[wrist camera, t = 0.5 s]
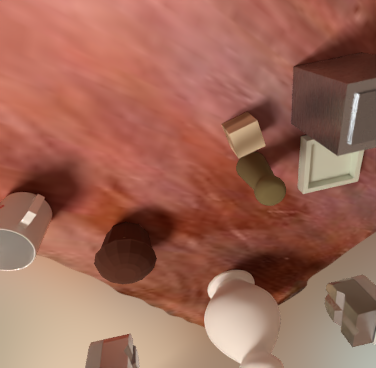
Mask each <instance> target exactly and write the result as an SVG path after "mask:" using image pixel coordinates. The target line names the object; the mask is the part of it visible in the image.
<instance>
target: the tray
mask: <svg viewBox="0 0 376 368" xmlns="http://www.w3.org/2000/svg"><path fill="white" fill-rule="evenodd" d="M363 153H364V150H362V151H357V152H353V153H349V154H344V155H340V156H337V155H335V154H334V153H332V152H331V151H330V150H328V149H327V148H325V147H324V146H322V145H321V144H320V143H318V142H317V141H315V140H314V139H312V138H311V137H309V136H308V135H305V136H301V141H300V158H299V174H298V189H299V190H300V191H301V192H302V193H303V194H305V193H309V192H314V191H318V190H322V189H327V188H331V187H335V186H340V185H344V184H348V183H353V182H357V181H358V179H359V173H360V168H361V163H362V158H363Z"/></svg>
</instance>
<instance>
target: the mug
mask: <svg viewBox="0 0 376 368" xmlns="http://www.w3.org/2000/svg"><path fill="white" fill-rule="evenodd" d="M44 199H45V197H44V196H42V195H40V194H37V195H36V194H33V193H28V192H16V193H12V194H10V195H8V196H6V197H5V198H4V199H3V200H2V201H1V202H0V270H2V271H15V270H20V269H23V268H25V267H27V266H29V265H30V264H31V263H32V262H33V261H34V259H35V257H36V255H37V252H38V250H39V248H40V245H41V243H42V241H43V238H44V236H45V234H46V231H47V229H48V227H49V224H50V222H51V219H52V210H51V207H50V206H49V204H48V203H47V202H46V201H45V200H44Z"/></svg>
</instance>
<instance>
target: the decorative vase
mask: <svg viewBox="0 0 376 368" xmlns="http://www.w3.org/2000/svg"><path fill="white" fill-rule="evenodd" d="M254 284H255V282H254V279H253V276H252V275H251V274H250V273H248V272H246V271H244V270H230V271H226V272H223V273H221V274H219V275H218V276H216V277H215V278H214V279H213V280H212V281H211V282H210V284H209V286H208V294H209V297H210V298H211V300H210V302H209V304H208V306H207V309H206V311H205V316H204V323H205V328H206V332H207V334H208V336H209V338H210V340H211V341H212V342H213V344H214V345H215V346H216V347H217V348H218V349H219V350H220V351H222V352H223V353H224V354H225V355H227V356H228V357H230V358H232V359H233V360H235V361H237V362H239V363H240V364H241V365H240V367H239V368H284V366H283V364H282V362H281V361H280V360H279V359H278V358H277V357H275V356H274V355H272V354H271V352H272V350H273V348H274V346H275V343H276V341H277V337H278V334H279V330H280V320H281V319H280V312H279V308H278V305H277V303H276V301H275V299H274V298H273V297H272V295H271V294H270V293H268V292H267V291H266V290H264V289H263V288H261V287H259V286H256V285H254Z"/></svg>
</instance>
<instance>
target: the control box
mask: <svg viewBox="0 0 376 368" xmlns="http://www.w3.org/2000/svg"><path fill="white" fill-rule="evenodd" d="M291 124H292V125H294V126H295V127H297V128H298V129H299V130H301V131H302V132H304V133H305V134H307V135H308V136H309V137H311V138H312V139H314V140H315V141H317V142H318V143H320V144H321V145H322V146H324V147H325V148H327V149H328V150H330V151H331V152H332V153H334V154H335V155H337V156H340V155H344V154H349V153H353V152H357V151H362V150H366V149H371V148H375V147H376V55H375V54H369V53H357V54H352V55H348V56H343V57H338V58H333V59H328V60H324V61H319V62H314V63H309V64H304V65H300V66H295V67H294V69H293V94H292V120H291Z"/></svg>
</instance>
